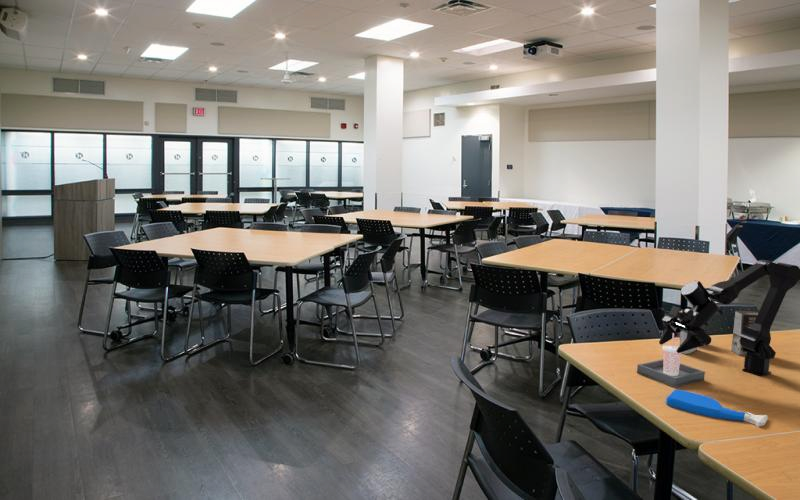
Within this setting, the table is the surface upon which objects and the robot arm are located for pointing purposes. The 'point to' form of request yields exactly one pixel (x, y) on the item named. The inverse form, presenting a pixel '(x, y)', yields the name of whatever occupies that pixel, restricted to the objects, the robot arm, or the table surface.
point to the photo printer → (682, 338)
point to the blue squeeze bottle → (710, 407)
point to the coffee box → (741, 329)
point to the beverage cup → (671, 359)
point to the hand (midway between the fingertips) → (668, 347)
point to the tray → (656, 373)
